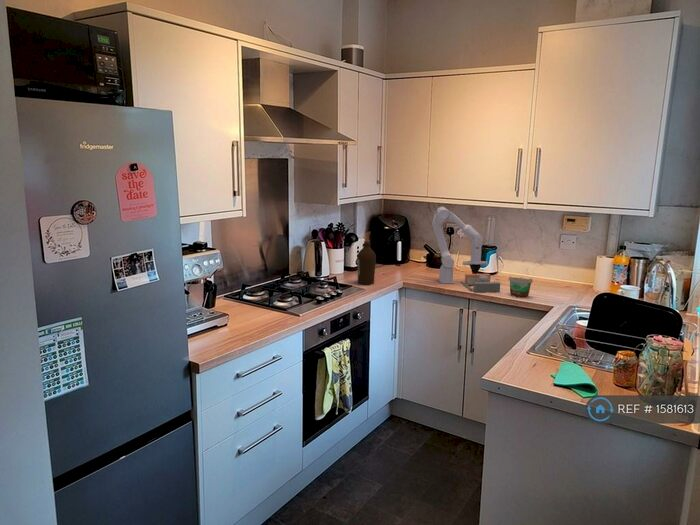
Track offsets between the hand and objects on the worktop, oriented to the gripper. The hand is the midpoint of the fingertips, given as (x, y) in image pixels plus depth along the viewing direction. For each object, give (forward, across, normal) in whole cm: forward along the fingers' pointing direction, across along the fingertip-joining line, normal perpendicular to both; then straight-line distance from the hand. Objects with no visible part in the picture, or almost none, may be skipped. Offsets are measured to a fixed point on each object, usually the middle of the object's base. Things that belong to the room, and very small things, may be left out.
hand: (474, 277), depth 299 cm
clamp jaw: (+3, 0, -6) cm, 6 cm away
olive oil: (+4, -64, +2) cm, 64 cm away
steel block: (+3, 0, -13) cm, 13 cm away
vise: (+3, 0, -12) cm, 12 cm away
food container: (+4, +14, -30) cm, 33 cm away
